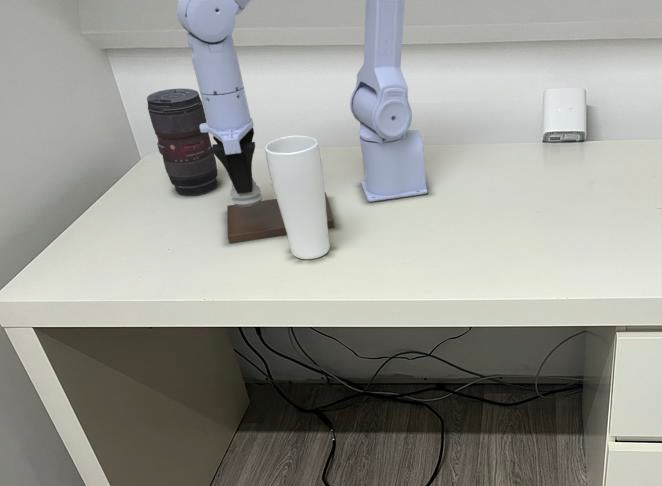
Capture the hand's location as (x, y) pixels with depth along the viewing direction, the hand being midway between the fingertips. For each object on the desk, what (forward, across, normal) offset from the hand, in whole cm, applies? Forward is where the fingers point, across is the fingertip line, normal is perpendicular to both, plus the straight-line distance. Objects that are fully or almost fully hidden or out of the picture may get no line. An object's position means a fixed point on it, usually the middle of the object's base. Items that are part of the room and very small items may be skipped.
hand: (244, 186), depth 107 cm
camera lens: (+6, -18, -8) cm, 20 cm away
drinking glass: (+6, +12, +8) cm, 15 cm away
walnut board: (+6, 0, +4) cm, 7 cm away
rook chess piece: (+2, 0, 0) cm, 2 cm away
